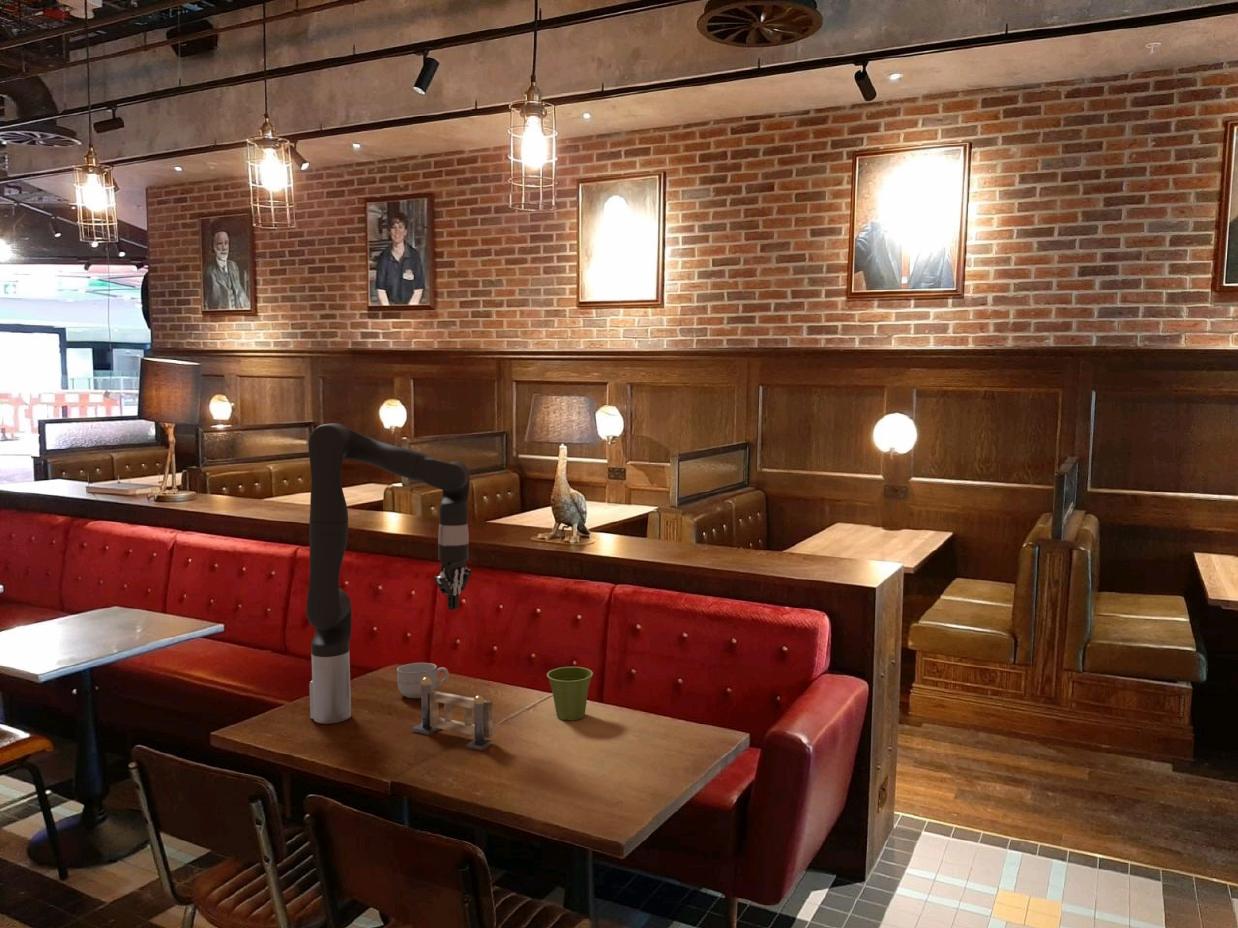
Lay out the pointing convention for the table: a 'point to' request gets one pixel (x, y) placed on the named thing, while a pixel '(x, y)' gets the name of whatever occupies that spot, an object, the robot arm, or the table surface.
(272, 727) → the table surface
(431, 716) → the gate
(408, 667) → the teacup
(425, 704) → the hinge post
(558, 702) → the plant pot
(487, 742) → the latch post
